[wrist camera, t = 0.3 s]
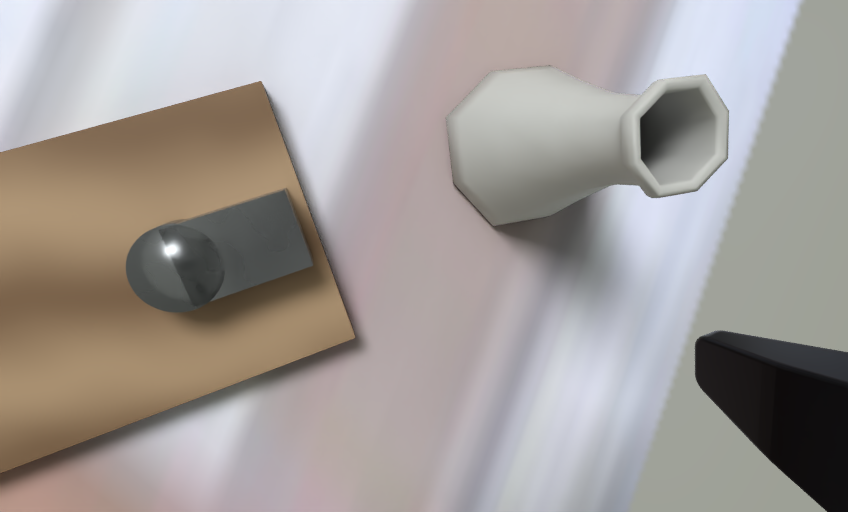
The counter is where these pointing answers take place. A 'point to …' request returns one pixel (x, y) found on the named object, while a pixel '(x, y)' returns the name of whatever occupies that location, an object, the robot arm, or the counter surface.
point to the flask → (580, 140)
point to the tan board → (107, 281)
